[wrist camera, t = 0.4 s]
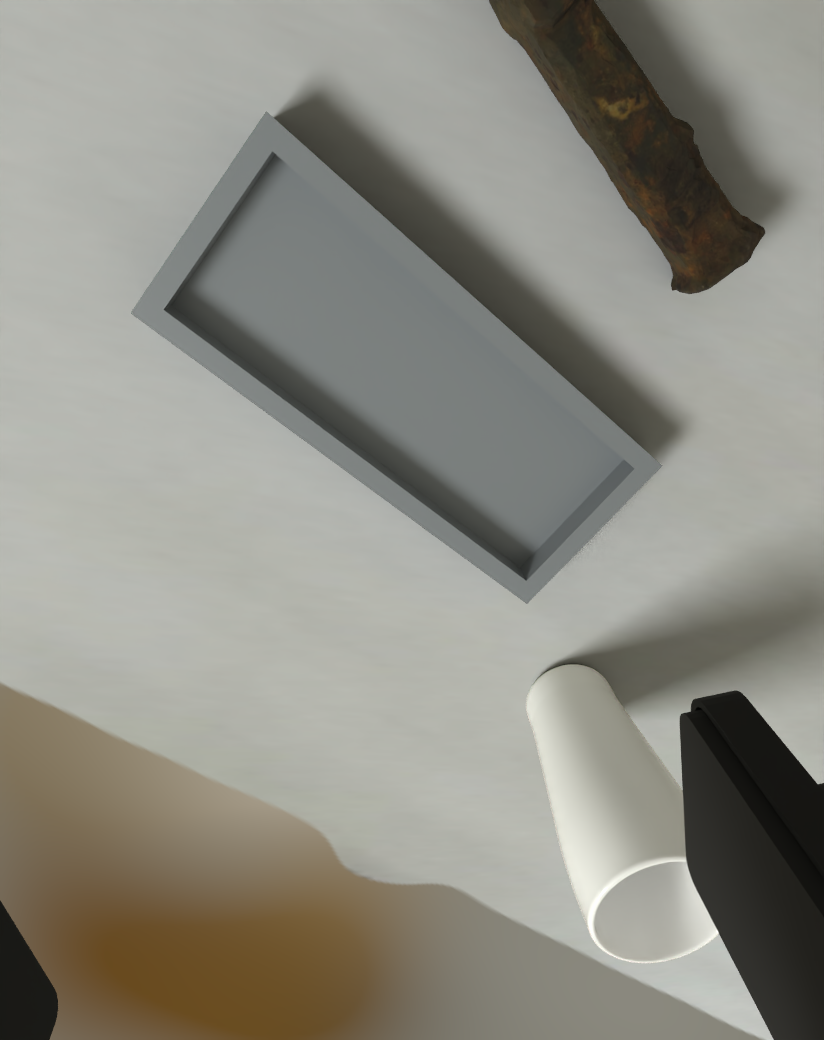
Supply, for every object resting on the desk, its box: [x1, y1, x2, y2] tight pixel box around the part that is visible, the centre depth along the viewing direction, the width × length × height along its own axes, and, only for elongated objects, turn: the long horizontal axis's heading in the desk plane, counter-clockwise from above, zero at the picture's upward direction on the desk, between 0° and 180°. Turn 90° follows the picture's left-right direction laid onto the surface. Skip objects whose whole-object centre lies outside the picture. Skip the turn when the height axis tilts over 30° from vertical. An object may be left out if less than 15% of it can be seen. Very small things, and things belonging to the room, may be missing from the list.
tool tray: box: [131, 112, 662, 603], centre depth 35 cm, size 10×24×2 cm, turn 50°
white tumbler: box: [526, 664, 719, 963], centre depth 38 cm, size 7×7×15 cm
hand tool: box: [489, 0, 765, 294], centre depth 29 cm, size 19×4×5 cm, turn 40°
